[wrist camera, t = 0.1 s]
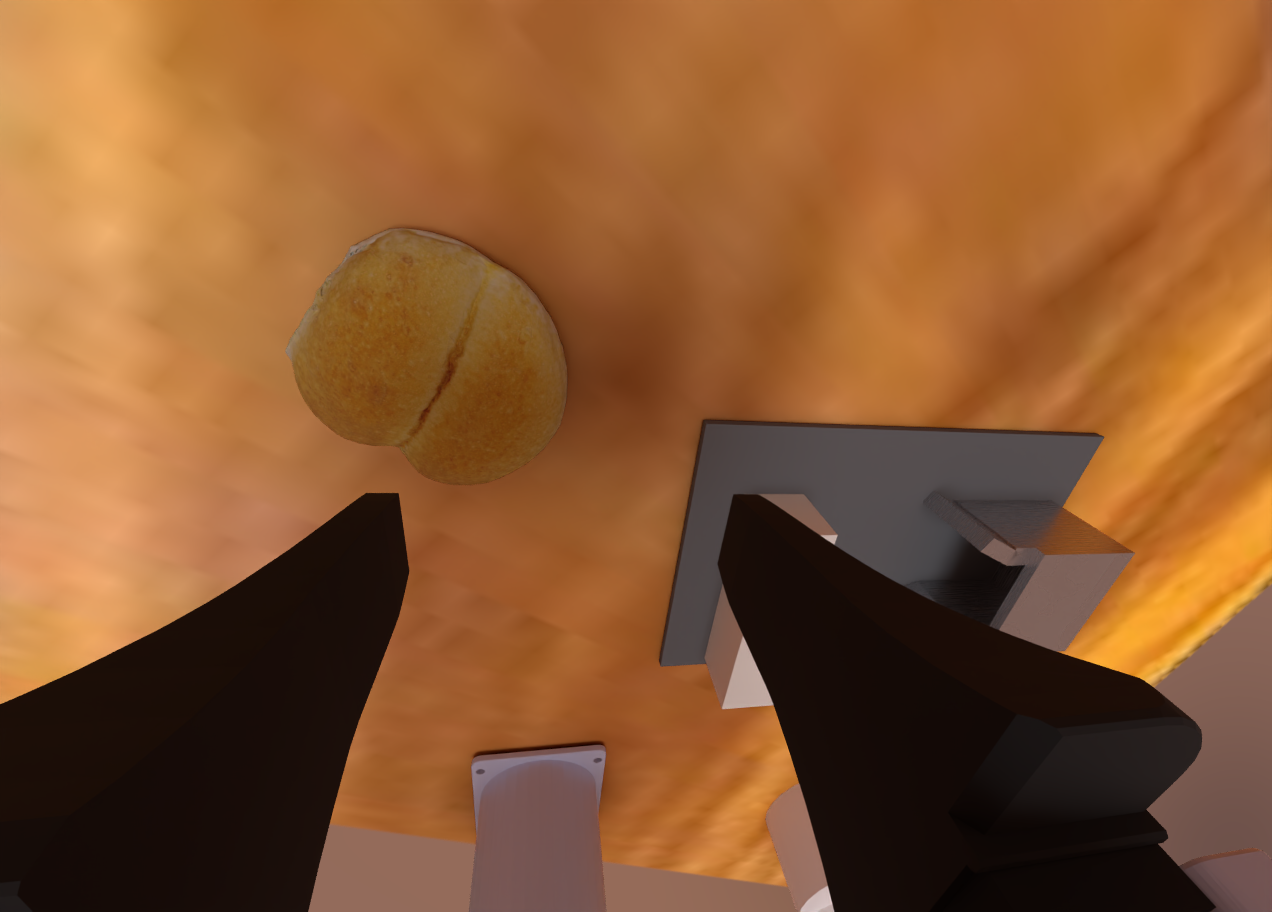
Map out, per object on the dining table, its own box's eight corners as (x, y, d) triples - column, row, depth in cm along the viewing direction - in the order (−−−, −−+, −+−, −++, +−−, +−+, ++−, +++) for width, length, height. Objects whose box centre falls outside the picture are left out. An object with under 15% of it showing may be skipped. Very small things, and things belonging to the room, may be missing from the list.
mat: (973, 641, 32) (978, 646, 32) (659, 660, 29) (660, 666, 28) (1096, 433, 26) (1104, 437, 25) (703, 420, 22) (706, 423, 21)
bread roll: (498, 490, 22) (490, 549, 18) (282, 377, 18) (221, 423, 15) (613, 341, 20) (628, 375, 16) (391, 175, 16) (348, 174, 12)
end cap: (994, 597, 30) (1059, 658, 26) (878, 602, 29) (929, 667, 25) (1056, 491, 27) (1142, 543, 23) (928, 490, 25) (996, 545, 21)
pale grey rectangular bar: (753, 654, 29) (776, 704, 26) (704, 657, 28) (721, 709, 26) (803, 494, 24) (837, 535, 21) (744, 493, 23) (771, 535, 21)
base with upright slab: (844, 756, 37) (962, 982, 26) (890, 797, 41) (1007, 1005, 31) (744, 813, 39) (818, 1047, 28) (798, 847, 43) (879, 1060, 32)
